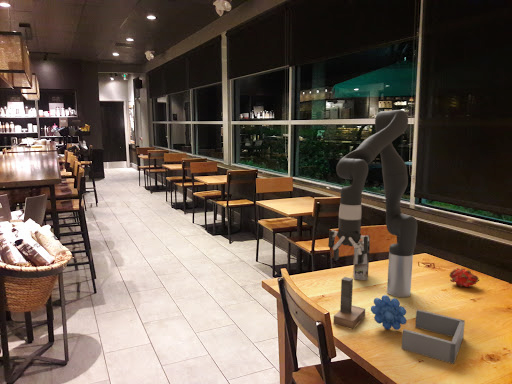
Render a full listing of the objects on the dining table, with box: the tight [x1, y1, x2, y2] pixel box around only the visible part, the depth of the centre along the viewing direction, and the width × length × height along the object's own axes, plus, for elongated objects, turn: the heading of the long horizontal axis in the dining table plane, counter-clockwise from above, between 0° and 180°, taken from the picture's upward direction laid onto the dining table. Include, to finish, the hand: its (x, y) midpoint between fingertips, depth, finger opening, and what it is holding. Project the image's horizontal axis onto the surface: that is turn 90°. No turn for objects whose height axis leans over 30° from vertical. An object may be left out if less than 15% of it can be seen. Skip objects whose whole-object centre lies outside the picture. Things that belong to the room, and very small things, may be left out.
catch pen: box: [401, 308, 466, 365], centre depth 129 cm, size 18×15×6 cm
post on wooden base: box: [332, 276, 366, 330], centre depth 144 cm, size 12×7×15 cm, turn 146°
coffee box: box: [352, 240, 370, 281], centre depth 187 cm, size 9×6×16 cm
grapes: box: [370, 294, 408, 331], centre depth 136 cm, size 12×7×12 cm, turn 74°
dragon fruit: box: [449, 267, 480, 289], centre depth 177 cm, size 8×8×12 cm
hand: (347, 262), depth 142 cm, fingers open, 8 cm apart
